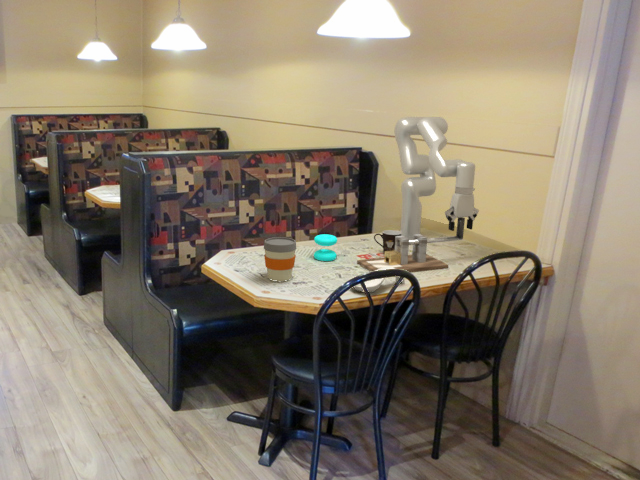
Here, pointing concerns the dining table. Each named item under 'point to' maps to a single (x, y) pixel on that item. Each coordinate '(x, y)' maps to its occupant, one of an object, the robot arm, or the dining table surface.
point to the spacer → (392, 257)
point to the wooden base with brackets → (407, 257)
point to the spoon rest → (375, 282)
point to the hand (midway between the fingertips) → (460, 229)
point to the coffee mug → (388, 239)
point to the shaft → (443, 239)
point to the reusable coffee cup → (279, 257)
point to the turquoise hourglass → (325, 253)
